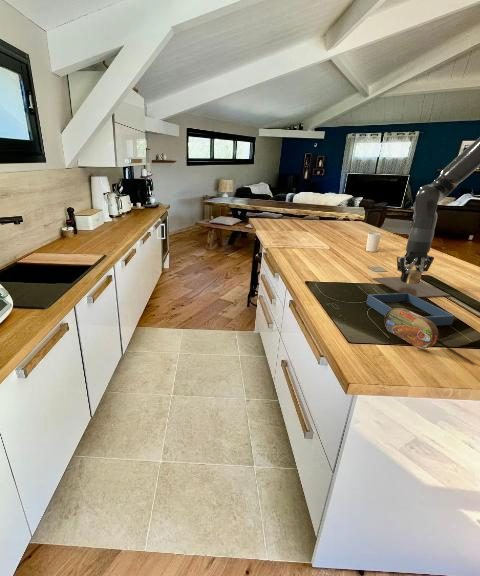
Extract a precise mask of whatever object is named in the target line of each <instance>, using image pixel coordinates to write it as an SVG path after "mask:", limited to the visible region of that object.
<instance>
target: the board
mask: <svg viewBox="0 0 480 576" xmlns="http://www.w3.org/2000/svg"><path fill="white" fill-rule="evenodd" d="M400 278H401V276H389V277H388V276H387V277H386V276H385V277H373V278H372V280H373V281H375V282H377V283H379V284H381V285H383V286H385V287H387V288H388V289H391V290H392V291H395V293H410V294H412V295H414V296H416V297H418V298H420V299H426V298H427V299H428V298H446V297H447V298H448V297H451V296H452V295H451V294H449V293H447V292H445V291H442V290H440V289H438V288H435V287H434V286H430V285H429V284H426V283H424V282H422V281H420V282H419V284H407V283H405V282H402V281H401V280H400Z"/></svg>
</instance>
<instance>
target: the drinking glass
mask: <svg viewBox="0 0 480 576" xmlns="http://www.w3.org/2000/svg"><path fill="white" fill-rule="evenodd" d="M381 237H382V234H381V233H379V232H368V233H367V240H366V247H365V250H366V252H370V253H377V252H378V249H379V244H380V241H381Z"/></svg>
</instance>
